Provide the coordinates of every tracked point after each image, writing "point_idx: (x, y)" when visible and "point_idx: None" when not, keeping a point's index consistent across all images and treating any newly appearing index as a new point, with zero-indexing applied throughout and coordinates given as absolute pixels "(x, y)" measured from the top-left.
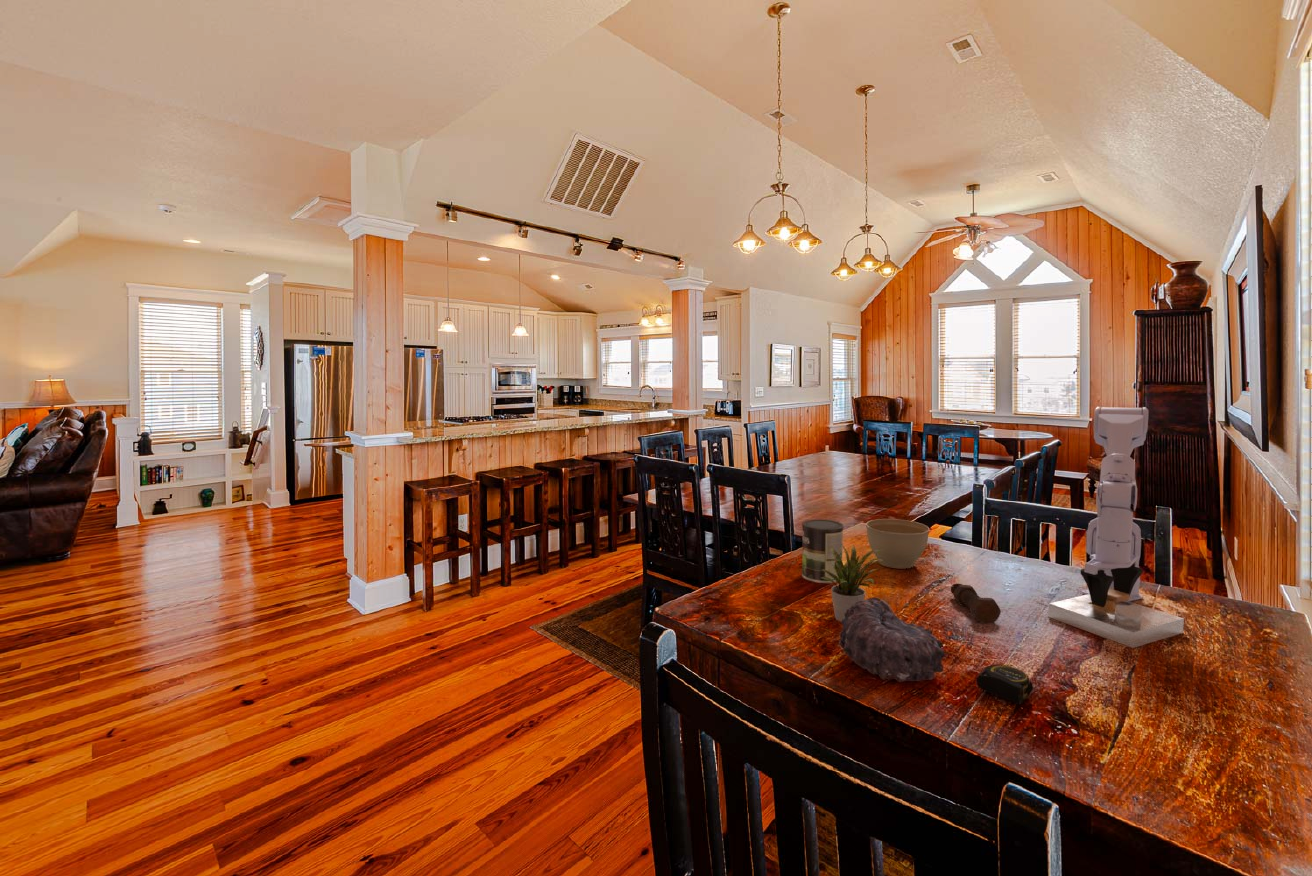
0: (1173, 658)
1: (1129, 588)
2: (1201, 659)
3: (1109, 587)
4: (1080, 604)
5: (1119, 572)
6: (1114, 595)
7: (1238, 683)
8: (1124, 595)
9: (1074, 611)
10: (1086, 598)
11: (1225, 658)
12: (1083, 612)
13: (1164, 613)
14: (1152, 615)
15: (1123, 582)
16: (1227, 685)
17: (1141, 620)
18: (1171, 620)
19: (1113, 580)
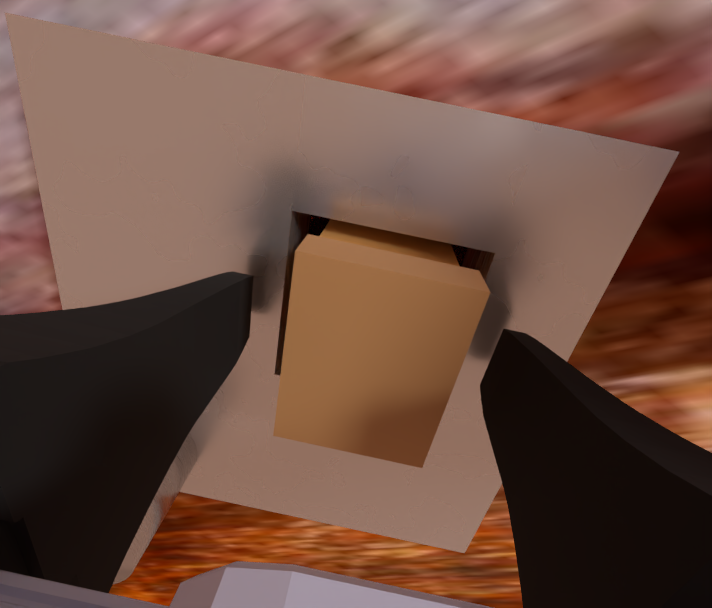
0: (181, 500)
1: (503, 480)
2: (249, 539)
3: (160, 480)
4: (220, 193)
5: (601, 555)
6: (304, 416)
7: (176, 588)
8: (367, 454)
9: (55, 224)
10: (404, 163)
11: (317, 569)
12: (99, 264)
13: (473, 504)
14: (392, 480)
15: (536, 481)
16: (140, 577)
17: (270, 465)
18: (389, 530)
19: (576, 401)
